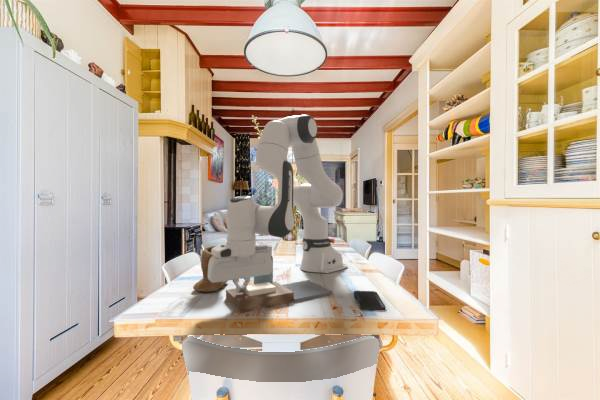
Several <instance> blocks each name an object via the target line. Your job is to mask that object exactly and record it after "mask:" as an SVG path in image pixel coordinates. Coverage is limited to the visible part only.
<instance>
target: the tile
mask: <svg viewBox="0 0 600 400" xmlns="http://www.w3.org/2000/svg"><path fill="white" fill-rule="evenodd" d="M270 292H276V286H274V285H272V284H271V283H269V282H265V283H259V284H254V283H253V284H248V286H247V292H245V293H246V294H247V295H249V296H254V295H260V294H265V293H270Z"/></svg>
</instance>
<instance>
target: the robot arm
mask: <svg viewBox="0 0 600 400" xmlns="http://www.w3.org/2000/svg"><path fill="white" fill-rule="evenodd" d="M317 136H318V124H317V121H316V119H315V118H314V117H313V116H311V115H309V114H301V115H291V116H286V117H283V118H280V119H274V120H270V121H268V122H267V123H266V124H265V125H264V128H263V130H262V132H261V134H260V137H259V139H258V144H257V148H256V153H255V162H256V165H257V167H258V168H259V169H260V170H261V171H262V172H264V173H266V174H267V175H269V176H271V177H274V178H276V179H277V182H278V183H277V203H276V204H274V205H261V204H258V203H257V202H256V201H255V199H254V197H253V196H252V195H240V196H239V195H238V196H234V197H232V198H230V199H229V200H228V204H227V210H226V227H227V236H226V242H223V243H221V244H219V245H215V246H216V247H214V248H212V249H211V253H212V255H213V256H212V257H211V258H210V260H209V264H208V279H209V280H210V281H211V282H212V283H216V282H223V281H227V282H228V281H232V282H233V284H234V286H235V288H236V292H237V293H241V292H247V286H248V285H250V282H251V278H254V277H255V276H261V275H267V274H271V272H272V270H273V271H274V267H273V268H272V259H271V256H272V257H273V249H272V250H271V248H270V247H268V246H256V243H257V242H256V241H257V238H256V237H257V236H256V235H262V236H271V237H276V238H281V239H283V238H285V237H287V236H288V235H289V234H291V233H292V232H293V229H294V227H295V211H294V205H295V207H296V208H297V209H298V210H299V212H300V215H301V218H302V223H303V237H302V258H301V262H300V267H299V269H300V270H302V271H304V272H309V273H322V274H329V273H333V272H337V271H340V270H344V269H345V270H346V269H348V268H349V267H348V266H349V265H348V264H347V263H345V262H344V261H343V256H342V253H340V251H338V250H337V249H336V248H335V247H333V246H332V244H335V242H336V239H335V238H332V237H331V238H329V237H328V236H329V235H328V234H329V228H328V227H329V223H328V220H327V219H326V217H324V216H323V215H321V213H320V212H319V208H320V209H321V208H322V209H330V208H335V207H338V206H340V205H341V203H342V202H343V199H344V192H343V190H342V188H341V186H340V185H338V184H337V183H335V182H334V181H332V179H331V178H330V176H328V174H327V173H326V171H325V169H324V166H323V163H322V159H321V155H320V151H319V150H320V149H319V146H318V145H319V144H318V143H317V139H316V138H317ZM291 146H292V153H293V158H294V162H295V166H296V171H297V174H298V176H300V178H302V179H304V180H306V182H308V183H302V184H297V185H295V186H294V183H295V182H294V169H293V166H292V164H291V162H289V161H288V154H289V147H291ZM268 248H269V249H268ZM241 279H243V280H244V282H243V284H241V285H239V283H240V280H241Z"/></svg>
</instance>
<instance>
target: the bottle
mask: <svg viewBox="0 0 600 400" xmlns="http://www.w3.org/2000/svg"><path fill="white" fill-rule="evenodd" d="M256 246H268V247H270V248H271V250H272V251H273V246H272V245H271V244H257V245H256ZM268 249H269V248H268ZM271 259H272V268H273V270H272V272H271V274H267V275H261V276H255V277H253V284H259V283H265V282H269V283H270V282H274V257H273V255H272V256H271Z"/></svg>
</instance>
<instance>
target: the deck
mask: <svg viewBox="0 0 600 400" xmlns="http://www.w3.org/2000/svg"><path fill="white" fill-rule="evenodd" d="M270 283H271V284H272V285H274V286H276V292H270V293H265V294H260V295H254V296H249V295H247V294H246V293H245V292H241V293H237V292H236V287H235V288H229V289H225V300H226V301H227V302H228V303H229V304H230V305H231V306H232V307H233V308H234V309H235V310H236V311H237V312H238V313H239V314H242V313H247V312H251V311H255V310H257V311H258V310H260V309H265V308H269V307H274V306H278V305H279V306H280V305H284V304H287V303H292V302H294V292H293V291H291V290H289V289H287V288H286V287H284V286H282V285H283V284H281V283H279V282H277V281H273V282H270Z"/></svg>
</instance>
